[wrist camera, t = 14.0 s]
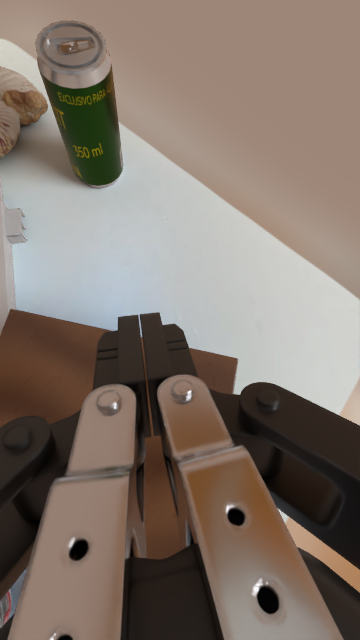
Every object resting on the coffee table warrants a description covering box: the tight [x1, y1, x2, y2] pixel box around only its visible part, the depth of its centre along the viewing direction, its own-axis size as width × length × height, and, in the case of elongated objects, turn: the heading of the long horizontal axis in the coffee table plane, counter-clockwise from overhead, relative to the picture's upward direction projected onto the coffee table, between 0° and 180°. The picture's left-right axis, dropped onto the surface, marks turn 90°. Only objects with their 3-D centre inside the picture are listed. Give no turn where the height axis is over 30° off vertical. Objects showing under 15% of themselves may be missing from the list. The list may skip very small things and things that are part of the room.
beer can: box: [35, 21, 123, 188], centre depth 27 cm, size 5×5×12 cm
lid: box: [0, 309, 238, 559], centre depth 18 cm, size 13×16×1 cm
